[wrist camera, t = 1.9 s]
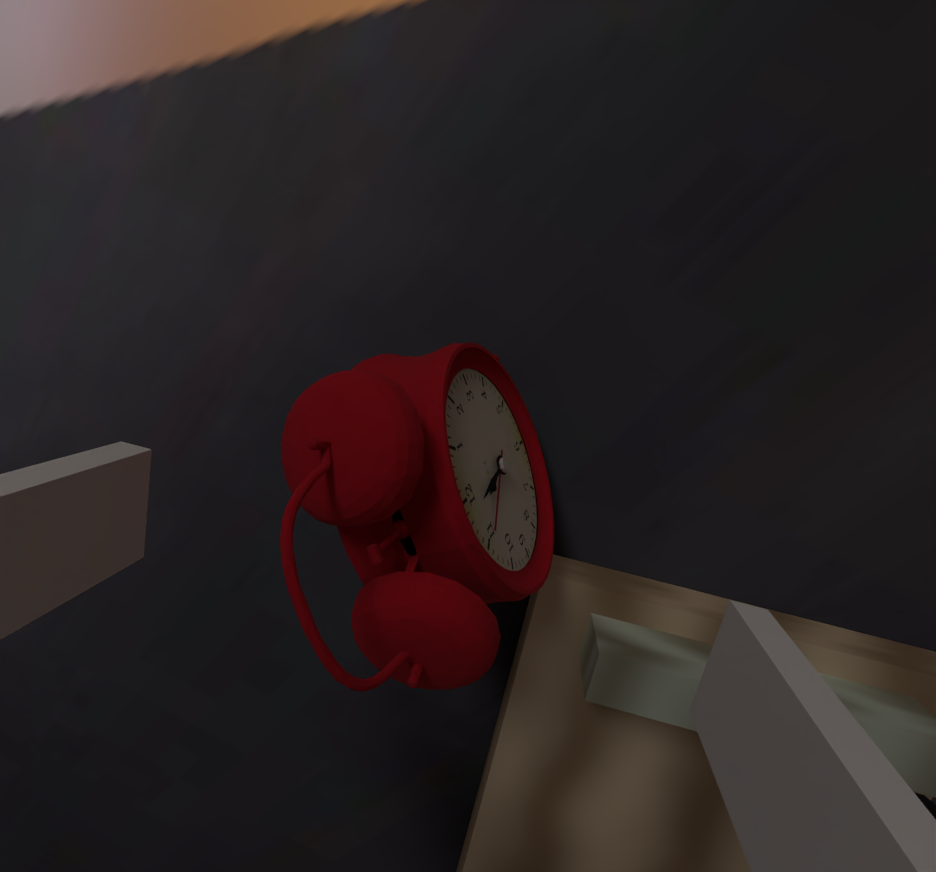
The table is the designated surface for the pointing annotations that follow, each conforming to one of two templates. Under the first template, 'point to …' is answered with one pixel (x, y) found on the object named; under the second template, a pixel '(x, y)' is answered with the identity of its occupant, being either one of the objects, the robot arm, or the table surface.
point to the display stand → (652, 727)
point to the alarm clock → (421, 508)
